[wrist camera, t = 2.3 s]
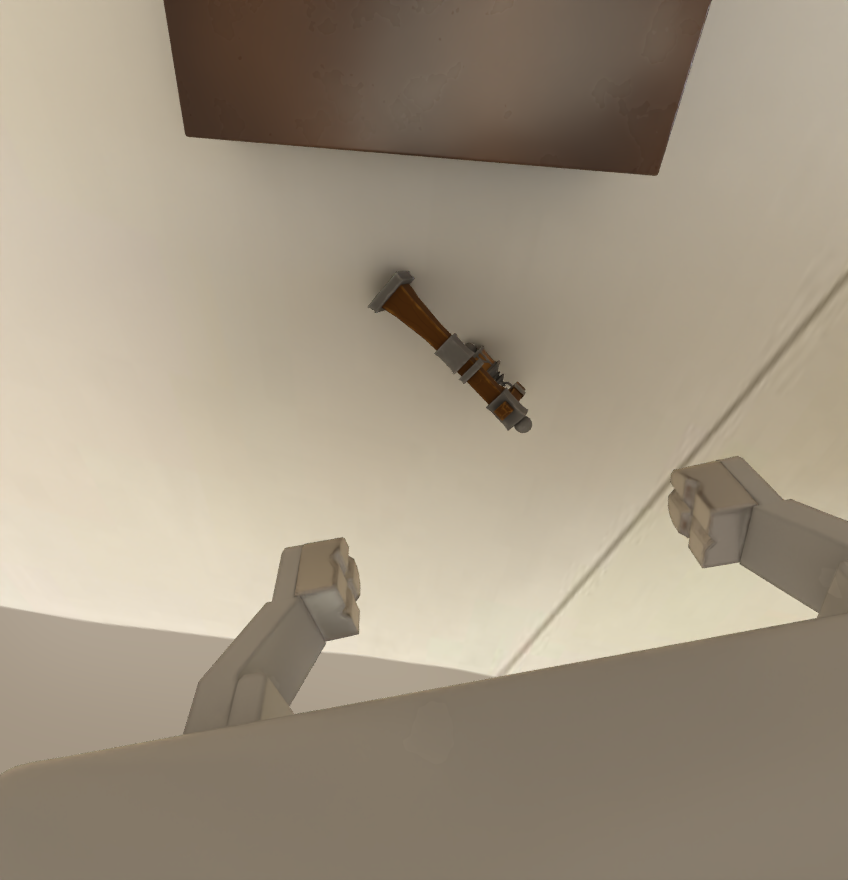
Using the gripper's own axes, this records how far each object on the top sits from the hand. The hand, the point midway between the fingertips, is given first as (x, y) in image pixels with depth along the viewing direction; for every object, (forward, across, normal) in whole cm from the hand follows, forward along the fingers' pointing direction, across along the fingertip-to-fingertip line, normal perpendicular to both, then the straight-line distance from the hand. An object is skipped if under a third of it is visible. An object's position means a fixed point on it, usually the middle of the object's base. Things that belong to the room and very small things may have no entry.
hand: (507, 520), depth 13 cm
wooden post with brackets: (+12, 0, 0) cm, 12 cm away
